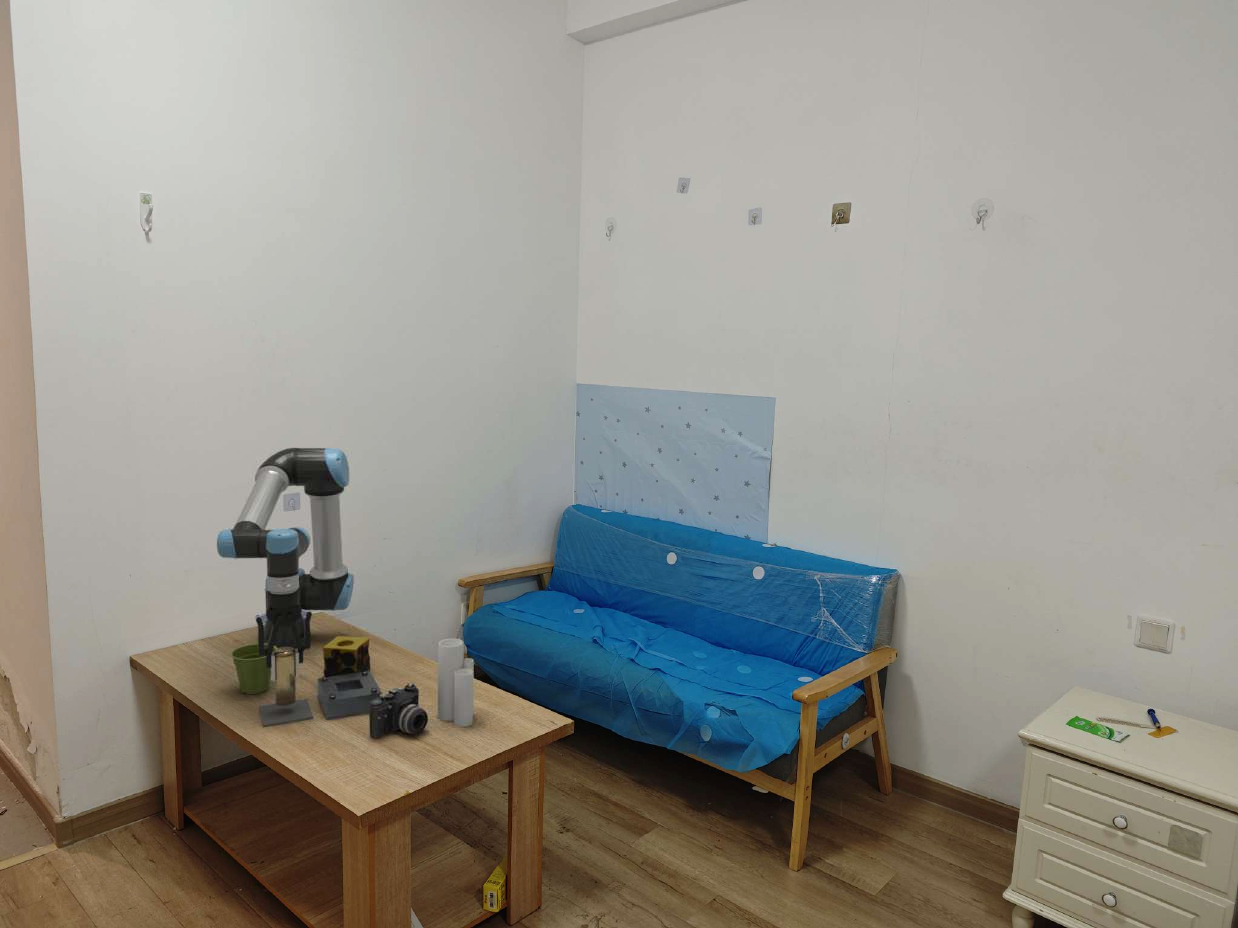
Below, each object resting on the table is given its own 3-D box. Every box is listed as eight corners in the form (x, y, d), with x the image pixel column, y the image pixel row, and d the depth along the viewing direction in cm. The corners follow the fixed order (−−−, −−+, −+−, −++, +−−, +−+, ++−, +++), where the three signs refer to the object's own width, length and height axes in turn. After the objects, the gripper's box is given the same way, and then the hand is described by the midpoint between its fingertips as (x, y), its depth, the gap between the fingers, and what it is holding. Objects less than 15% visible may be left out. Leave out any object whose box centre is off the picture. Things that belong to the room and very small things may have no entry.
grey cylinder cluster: (432, 716, 216) (432, 643, 213) (451, 707, 222) (451, 636, 219) (464, 728, 210) (465, 653, 207) (483, 718, 216) (484, 645, 213)
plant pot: (224, 688, 228) (223, 650, 226) (266, 677, 237) (265, 640, 235) (242, 702, 220) (241, 662, 219) (285, 690, 229) (284, 651, 227)
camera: (395, 748, 199) (395, 709, 197) (365, 735, 204) (364, 697, 203) (438, 726, 211) (438, 689, 209) (408, 715, 216) (408, 679, 215)
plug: (274, 699, 215) (272, 648, 213) (294, 696, 217) (293, 645, 216) (276, 707, 211) (274, 654, 209) (297, 703, 213) (296, 652, 211)
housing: (317, 695, 226) (317, 676, 225) (369, 687, 232) (369, 668, 232) (326, 719, 212) (326, 699, 211) (382, 710, 218) (382, 690, 218)
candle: (371, 669, 245) (370, 637, 244) (357, 682, 236) (356, 649, 234) (338, 667, 246) (337, 635, 245) (323, 680, 236) (322, 647, 235)
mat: (258, 708, 217) (258, 705, 217) (307, 700, 223) (307, 698, 223) (263, 727, 207) (263, 724, 206) (313, 718, 212) (313, 716, 212)
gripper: (245, 598, 202) (248, 687, 206) (322, 590, 211) (324, 676, 214) (243, 589, 209) (245, 677, 212) (318, 582, 218) (319, 666, 221)
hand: (285, 676), depth 213 cm, fingers closed on plug, 5 cm apart
